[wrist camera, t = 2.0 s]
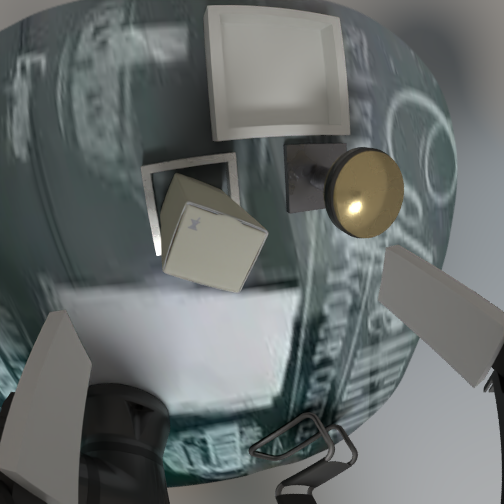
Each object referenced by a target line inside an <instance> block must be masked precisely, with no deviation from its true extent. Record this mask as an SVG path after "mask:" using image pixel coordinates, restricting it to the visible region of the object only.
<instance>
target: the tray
mask: <svg viewBox="0 0 504 504" xmlns="http://www.w3.org/2000/svg"><path fill="white" fill-rule="evenodd" d="M203 24H204V40H205V56H206V70H207V83H208V96H209V108H210V119H211V130H212V141H224V140H234V139H245V138H258V137H274V136H296V135H350V118H349V100H348V87H347V75H346V65H345V55H344V47H343V39H342V32H341V25H340V19H339V18H338V17H334V16H329V15H324V14H319V13H313V12H307V11H300V10H293V9H285V8H275V7H263V6H244V5H209V6H207V9H206V11H205V14H204V17H203Z"/></svg>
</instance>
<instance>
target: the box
mask: <svg viewBox="0 0 504 504" xmlns="http://www.w3.org/2000/svg"><path fill="white" fill-rule="evenodd" d="M160 221H161V254H162V270H163V272H164V273H166V274H169V275H172V276H175V277H178V278H181V279H185V280H188V281H192V282H195V283H199V284H202V285H206V286H210V287H214V288H217V289H221V290H226V291H231V292H235V293H239V292H240V291H241V289H242V287H243V285H244V283H245V281H246V279H247V277H248V275H249V273H250V271H251V269H252V267H253V265H254V263H255V261H256V259H257V257H258V255H259V253H260V251H261V249H262V247H263V244H264V242H265V240H266V238H267V236H268V231H267V230H266V229H265V228H264V227H263V226H262V225H261V224H260V223H259V222H257V221H256V220H255V219H254V218H253V217H252V216H251V215H249V214H248V213H247V212H246V211H245V210H244V209H243V208H241V207H240V206H239V205H238V204H237V203H236V202H235V201H233V200H232V199H231V198H230V197H229V196H228V195H226V194H225V193H224V192H223V191H222V190H221V189H218V188H216V187H214V186H212V185H209V184H207V183H204V182H202V181H199V180H196V179H194V178H191V177H188V176H185V175H183V174H180V173H175V174H174V177H173V179H172V181H171V184H170V186H169V189H168V191H167V194H166V197H165V200H164V202H163V205H162V209H161V212H160Z"/></svg>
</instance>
